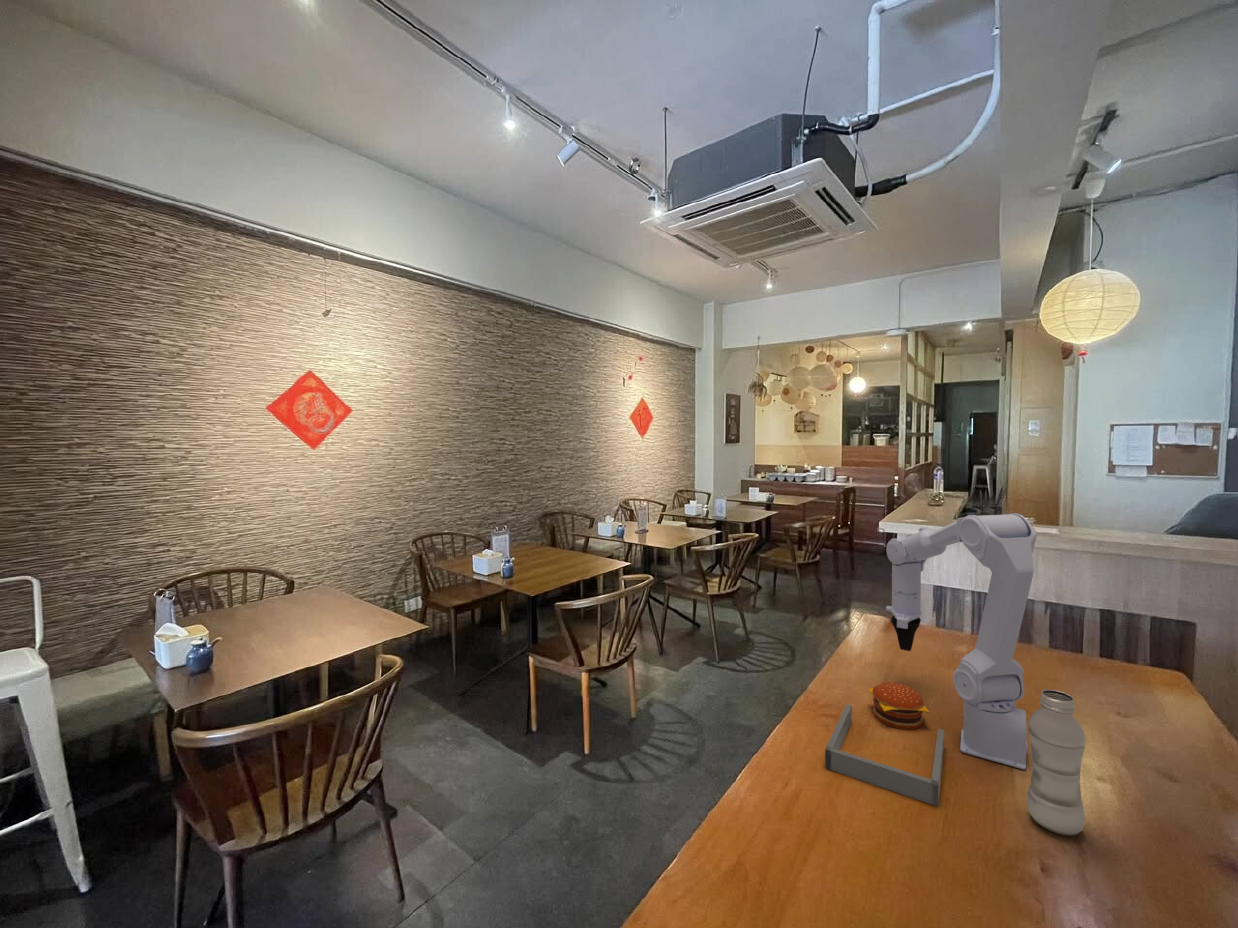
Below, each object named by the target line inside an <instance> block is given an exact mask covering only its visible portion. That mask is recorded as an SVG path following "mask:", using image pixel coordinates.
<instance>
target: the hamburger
mask: <svg viewBox="0 0 1238 928" xmlns="http://www.w3.org/2000/svg"><path fill="white" fill-rule="evenodd" d="M867 691H869V692H870V694H871V695H872V701H873V709H872V712H873V714H874V715H873V716H874V717H875V719H876V720H878V721H879V722H880V723H883V724H884V725H886V726H888V727H892V728H895V729H899V730H906V731H907V730H917V729H919V728H920V727H922V725H923V722H924V719H923V717H922V716H923V712H924V713H927V714H931V712H930V711H929V709H928V708H927V707H926V706H925V703H924V701H923V697H922V695H921V694H920V692H918V691H917V690H915V689H913V688H911V687H909V686H908V685H906V684H902V683H897V682H881V683H880V684H878V685H876V686H874V687H871V688H868V689H867Z"/></svg>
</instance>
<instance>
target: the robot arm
mask: <svg viewBox="0 0 1238 928" xmlns="http://www.w3.org/2000/svg"><path fill="white" fill-rule="evenodd" d="M1037 536H1038V532H1036V530H1035V529H1034V527H1033V526H1032V525H1031V523H1030V522H1029V520H1028V519H1027V518H1026V517H1025V516H1024V515H1022V514H1020V513H1017V512H1014V513H1012V512H1011V513H1008V514H989V515H988V514H985V515H983V514H982V515H975V514H968V515H966V516H964V517H958V518H957V519H956V521H954V522H951V523H949V524H947V525H945V526H943V527H942V528H940V529H936V528H930V527H929V526H926V527H925V526H924V527H920V528H918V532H916V533H908V534H906V535H905V537H903V538H891V539H890V540H889V541H888V543H887V544H886V547H885V548H886V556H887V558H888V560H889V561H890V563H892V564H891V565H892V566H891V605H886V607H885V611H886V612H890V613H891V614H892V616H891V619H890V622H891V624H892V626H893V628H894V630H895V633H896V635H897V640H898V641H897V642H898V646H899V649H900V650H902V651H907V652H911V650H912V647H913V643H914V639H915V634H916V632H917V630H918V629H919V627H920V626H921V621H922V618H921V617H922V610H921V609H922V608H921V606H922V605H921V604H922V603H921V602H922V601H921V597H922V596H921V593H922V590H921V588H922V587H921V586H922V580H921V579H922V572H923V571H924V568H925V567H924V566H925V563H926V562H927V560H928V559H930V558H933V557H936V556H939V555H942V554H943V553H944V552H946V550H947V546H950V545H954V544H957V543H962V544H963V545H964V546H965V547H966V548H967V550H968V551H969V552H970V553H971V554H972V556H974V557H975V559H977V561H978V562H979V563H980V564H981V565H982V566H984V567H985V568H988V570H989V569H990V572H991V576H990V581H989V584H988V589H987V595H986V599H985V604H984V608H983V613H982V616H981V622H980V625H979V631H978V633H977V634H978V635H977V639H976V644H975V647H974V649H972V650H971V651H970V652H969V653H967V654H965V655H964V656H963V657H962V658H961V659H960V663H959V666H958V667H957V668H956V669H954V672H953V677H952V681H953V682H952V683H953V687H954V688H955V691H956V693H957V694H958V695H959V697H960V698H961V699H962V700H963V729H961V730H960V732H961V733H960V749H959V750H960V752H961V753H963V754H967V755H970V756H974V757H978V758H981V759H984V760H988V761H992V762H995V763H999V764H1002V765H1006V766H1009V767H1014V768H1018V769H1020V770H1026V769H1027V753H1028V751H1029V750H1028V749H1029V747H1028V745H1029V744H1028V742H1027V736H1028V735H1027V733H1028V732H1027V729H1028V726H1027V714H1026V713H1027V712H1026V710H1024V709H1022V708H1019V707H1017V701H1020V700H1021V699H1022V698H1023V697H1024V695H1025V683H1024V673H1025V669H1024V668H1023V667H1022V665H1021V664H1020V663H1019V662H1018V661H1017V660H1015V659H1014V655H1015V651H1016V647H1017V642H1018V638H1019V636H1020V631H1021V626H1022V622H1023V618H1024V614H1025V609H1026V606H1027V603H1028V598H1029V594H1030V589H1031V585H1032V581H1033V578H1034V573H1035V572H1034V570H1035V569H1034V560H1033V554H1034V549H1035V543H1036V541H1037V540H1036V539H1037Z"/></svg>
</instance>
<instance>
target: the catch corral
mask: <svg viewBox="0 0 1238 928" xmlns="http://www.w3.org/2000/svg"><path fill="white" fill-rule="evenodd" d="M852 723H853V706H852V705H851V704H848V703H846V704H845V707H844V709H843V711H842V713H841V715H840V717H839V719H838V721H837V724H836V726H835V727H834V730H833V731H832V734H831V736H830V738H829V740H828V742H827V744H826V747H825V748H824V753H825V754H824V763H825V764H824V766H825V767H824V768H825V769H827V770H828V771H829V770H830V771H833V772H834V773H835V772H836V773H839V774H842V775H844V776H847V777H851V778H853V779H856V780H858V781H862V782H865V783H867V784H871V785H873V786H876V787H879V788H883V789H886V790H888V791H891V792H895V793H897V794H900V795H903V796H905V797H908V798H911V799H915V800H918V801H920V802H923V803H927V804H929V805H932V806H934V807H939V802H940V791H941V782H942V773H943V765H944V763H943V762H944V756H945V753H944V752H945V729H941V728H937V735H936V743H935V751H934V758H933V765H932V773H931V778H929V777H926V776H925V777H924V776H922V775H918V774H915V773H913V772H912V773H911V772H909V771H906V770H902V769H899V768H896V767H893V766H891V765H887V764H884V763H881V762H877V761H876V760H875V761H874V760H872V759H868V758H865V757H863V756H859V755H856V754H852V753H850V752H846V751H843V750H841V747H842V745H843V744H844V742H845V739H846V736H847V734H848V732H849V729H850V726H851V725H852Z"/></svg>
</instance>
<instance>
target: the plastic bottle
mask: <svg viewBox="0 0 1238 928" xmlns="http://www.w3.org/2000/svg"><path fill="white" fill-rule="evenodd" d="M1040 696H1041V697H1040V700H1039V704H1040V706H1041V707H1040V708H1039V709H1037V710H1036V711H1035V712H1034V713H1033V714H1031V715H1030V717H1029V719H1028V721H1027V729H1028V735H1029V739H1030V746H1031V748H1030V749H1031V758H1032V759H1031V763H1032V764H1031V765H1032V769H1031V778H1030V785H1029V787H1028V791H1027V793H1026V794H1027V795H1026V805H1027V809H1028V812H1029V815H1030V816H1031V817H1032V818H1033V820H1034V821H1035V822H1036V823H1037V824H1038V825H1040V826H1041V827H1043V828H1045V829H1046V830H1048V831H1050V832H1053V833H1056V834H1059V835H1063V836H1070V837H1071V836H1075V835H1078V834H1079V833H1080V832H1082V831H1083V830H1084V826H1085V824H1086V823H1085V822H1086V816H1085V810H1084V805H1083V801H1082V793H1081V792H1082V791H1081V790H1082V789H1081V781H1080V780H1081V768H1082V761H1083V756H1084V753H1085V749H1086V748H1085V747H1086V742H1087V741H1086V740H1087V737H1086V734H1085V730H1084V729H1083V727H1082V726H1081V724H1080V723H1079V721H1078V720H1077V719H1076V717H1075V716H1074V715H1073V714H1075V711H1076V708H1075V698H1074V697H1073V696H1072V695H1070V694H1068V693H1066V692H1063V691H1059V690H1056V689H1043V690H1041V693H1040Z"/></svg>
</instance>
